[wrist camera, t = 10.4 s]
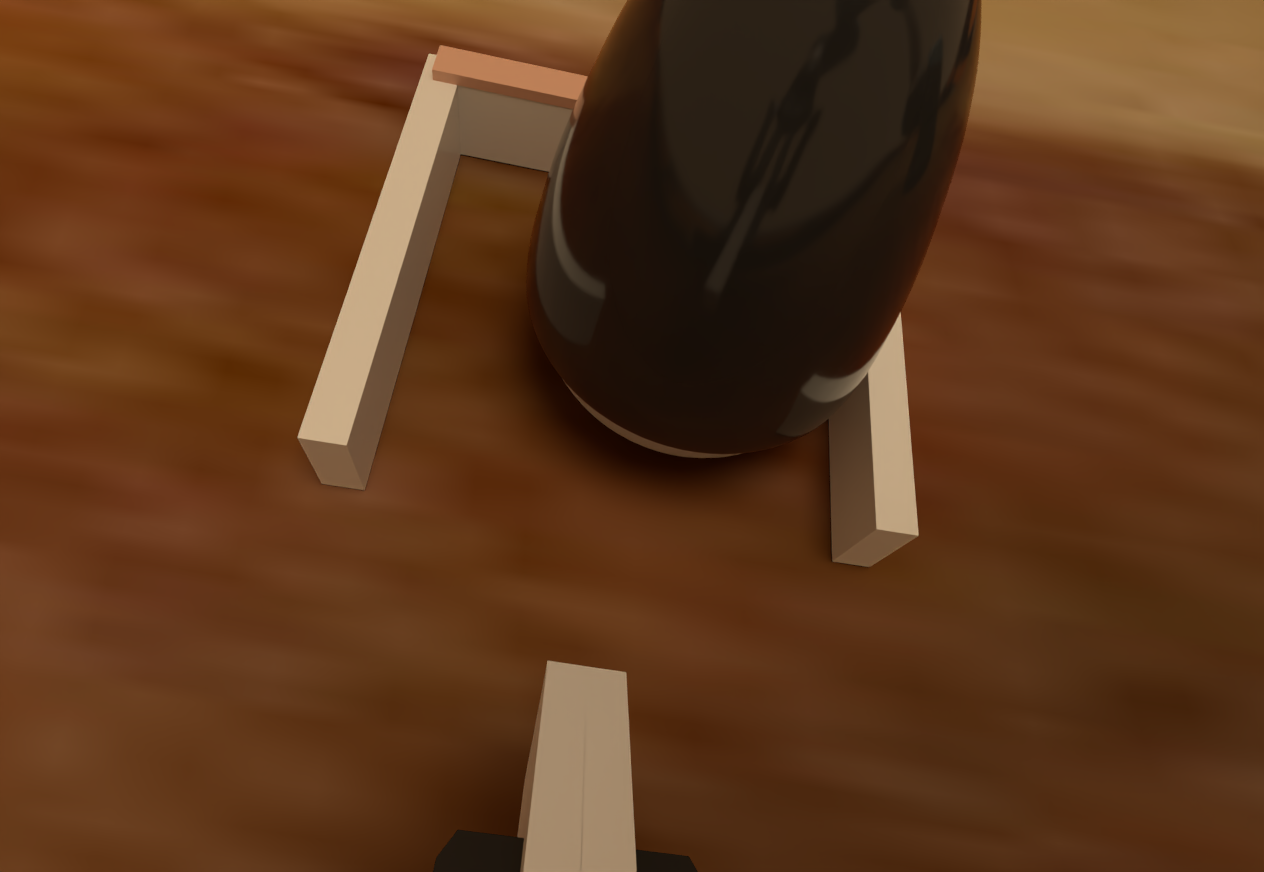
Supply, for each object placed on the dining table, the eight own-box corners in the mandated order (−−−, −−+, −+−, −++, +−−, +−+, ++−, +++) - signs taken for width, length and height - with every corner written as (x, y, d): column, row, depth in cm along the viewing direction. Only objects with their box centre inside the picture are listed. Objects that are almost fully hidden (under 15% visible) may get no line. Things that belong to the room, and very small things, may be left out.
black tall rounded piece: (864, 330, 27) (1230, -140, 14) (743, 566, 22) (1120, 201, 9) (623, 195, 28) (743, -368, 15) (458, 394, 23) (408, -171, 10)
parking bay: (852, 209, 30) (892, 141, 27) (869, 567, 23) (926, 531, 20) (435, 124, 28) (428, 42, 25) (321, 483, 21) (293, 430, 18)
